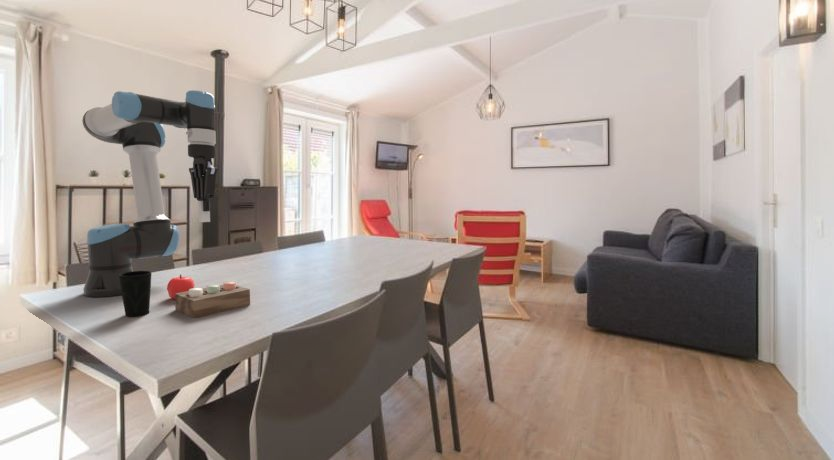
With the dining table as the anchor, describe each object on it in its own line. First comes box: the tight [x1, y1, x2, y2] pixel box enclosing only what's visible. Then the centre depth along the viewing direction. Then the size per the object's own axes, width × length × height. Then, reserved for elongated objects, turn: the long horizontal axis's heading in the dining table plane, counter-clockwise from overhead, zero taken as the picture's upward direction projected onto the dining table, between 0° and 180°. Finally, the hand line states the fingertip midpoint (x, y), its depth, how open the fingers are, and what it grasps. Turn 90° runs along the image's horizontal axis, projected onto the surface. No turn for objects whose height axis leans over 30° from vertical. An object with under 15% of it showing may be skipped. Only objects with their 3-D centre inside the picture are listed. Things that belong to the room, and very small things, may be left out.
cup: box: [119, 270, 152, 318], centre depth 112 cm, size 8×8×12 cm
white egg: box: [189, 287, 203, 298], centre depth 116 cm, size 4×4×4 cm
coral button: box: [222, 281, 237, 291], centre depth 124 cm, size 4×4×4 cm
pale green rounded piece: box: [206, 284, 221, 294], centre depth 120 cm, size 4×4×4 cm
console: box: [174, 284, 251, 319], centre depth 120 cm, size 12×17×5 cm
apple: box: [166, 274, 195, 300], centre depth 130 cm, size 8×8×8 cm
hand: (204, 221), depth 120 cm, fingers closed
